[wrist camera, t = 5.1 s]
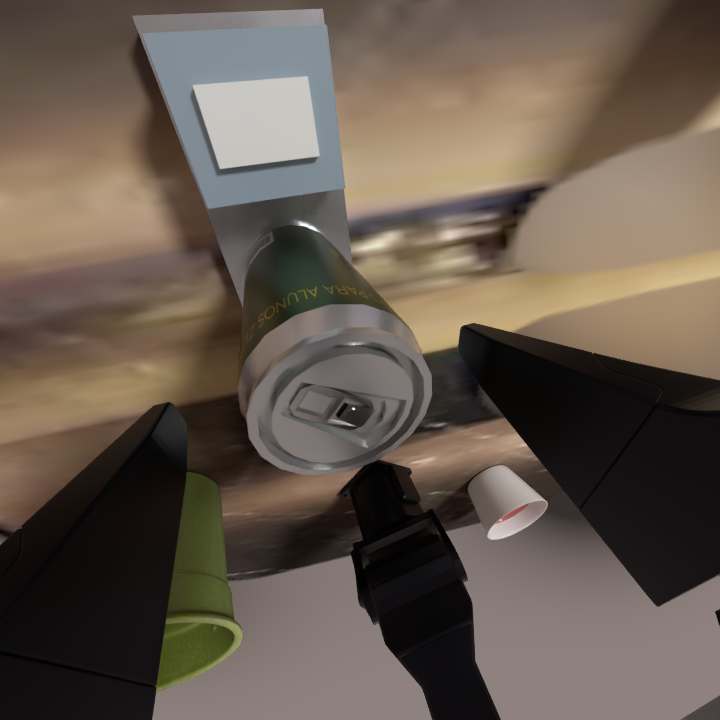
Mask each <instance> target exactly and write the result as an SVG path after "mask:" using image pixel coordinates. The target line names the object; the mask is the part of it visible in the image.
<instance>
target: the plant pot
mask: <svg viewBox="0 0 720 720" xmlns="http://www.w3.org/2000/svg"><path fill="white" fill-rule="evenodd" d="M242 638H243V632H242V628H241V626H240V625H239V624H238V623H237V622H236V621H235V620H234V613H233V604H232V594H231V589H230V588H229V586H228V580H227V568H226V556H225V545H224V532H223V520H222V506H221V495H220V491H219V488H218V485H217V484H216V483H215V482H214V481H213V480H211V479H210V478H208V477H206V476H204V475H201V474H197V473H193V472H187V476H186V486H185V493H184V500H183V507H182V514H181V520H180V527H179V534H178V541H177V548H176V555H175V562H174V569H173V576H172V583H171V590H170V597H169V604H168V611H167V618H166V625H165V631H164V638H163V645H162V652H161V659H160V666H159V673H158V680H157V685H156V686H155V687H156V688H157V689H156V692H158V691H161V690H164V689H167V688H169V687H172V686H174V685H177V684H179V683H182V682H184V681H186V680H189V679H191V678H193V677H195V676H197V675H199V674H201V673H203V672H205V671H207V670H209V669H211V668H212V667H214V666H215V665H217V664H219V663H220V662H222V661H223V660H225V659H226V658H227V657H229V655H231V654H232V653H233V652H234V651H235V650H236V649H237V648H238V646H239V645H240V643H241V641H242Z"/></svg>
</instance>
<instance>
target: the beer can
mask: <svg viewBox="0 0 720 720" xmlns="http://www.w3.org/2000/svg"><path fill="white" fill-rule="evenodd" d="M237 389H238V397H239V404H240V411H241V413H242V415H243V416H244V418H245V420H246V421H247V425H248V433H249V439H250V441H251V442H252V444H253V445H254V447H255V448H256V450H257V451H258V452H259V454H260V455H261V457H263V458H264V459H266V460H267V461H269V462H270V463H272V464H274V465H275V466H277V467H278V468H280V469H283V470H287V471H291V472H295V473H298V474H302V475H330V474H335V473H341V472H346V471H351V470H354V469H356V468H359V467H362V466H364V465H367V464H369V463H372V462H375V461H376V460H378V459H379V458H381V457H383V456H384V455H386V454H388V453H389V452H391V451H393V450H394V449H396V448H397V447H398V446H399V445H400V444H401V443H402V442H403V441H404V440H406V439H407V438H408V437H409V436H410V435H411V434H412V433H413V432H414V430H415V429H416V427H417V426H418V424H419V423H420V422H421V420H422V419H423V417H424V416H425V414H426V411H427V408H428V405H429V402H430V399H431V396H432V379H431V373H430V371H429V369H428V367H427V365H426V363H425V361H424V359H423V357H422V350H421V348H420V346H419V344H418V342H417V340H416V338H415V336H414V334H413V332H412V330H411V329H410V328H409V327H408V326H407V325H406V324H405V322H404V321H403V320H402V319H401V318H400V317H399V316H398V315H397V314H396V313H395V312H394V310H393V309H392V308H391V307H390V306H389V305H388V304H387V303H386V302H385V301H384V300H383V299H382V297H381V296H380V295H379V294H378V293H377V292H376V291H375V290H374V289H373V288H372V287H371V285H370V284H369V283H368V282H367V281H366V280H365V279H364V278H363V277H362V276H361V275H360V273H359V272H358V271H357V270H356V269H355V268H354V267H353V266H352V265H351V264H350V263H349V261H348V260H347V259H346V258H345V257H344V256H343V255H342V254H341V253H340V252H339V251H338V250H337V248H336V247H335V246H334V245H333V244H332V243H331V242H330V241H329V240H328V239H326V238H325V237H324V236H323V235H322V234H321V233H320V232H317V231H315V230H313V229H310V228H308V227H306V226H297V225H286V226H282V227H278V228H274V229H272V230H270V231H269V232H267V233H266V234H264V235H263V236H262V237H260V238H259V239H258V240H257V242H256V243H255V245H254V246H253V248H252V249H251V250H250V252H249V256H248V260H247V264H246V271H245V285H244V299H243V313H242V327H241V341H240V356H239V370H238V384H237Z"/></svg>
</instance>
